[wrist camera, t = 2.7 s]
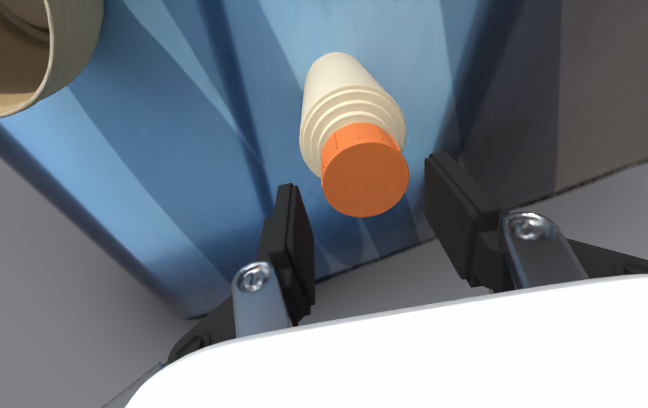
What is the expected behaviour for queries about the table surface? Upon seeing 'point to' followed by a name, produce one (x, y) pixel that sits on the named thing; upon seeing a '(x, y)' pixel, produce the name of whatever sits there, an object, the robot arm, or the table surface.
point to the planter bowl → (44, 47)
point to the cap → (363, 170)
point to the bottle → (343, 105)
